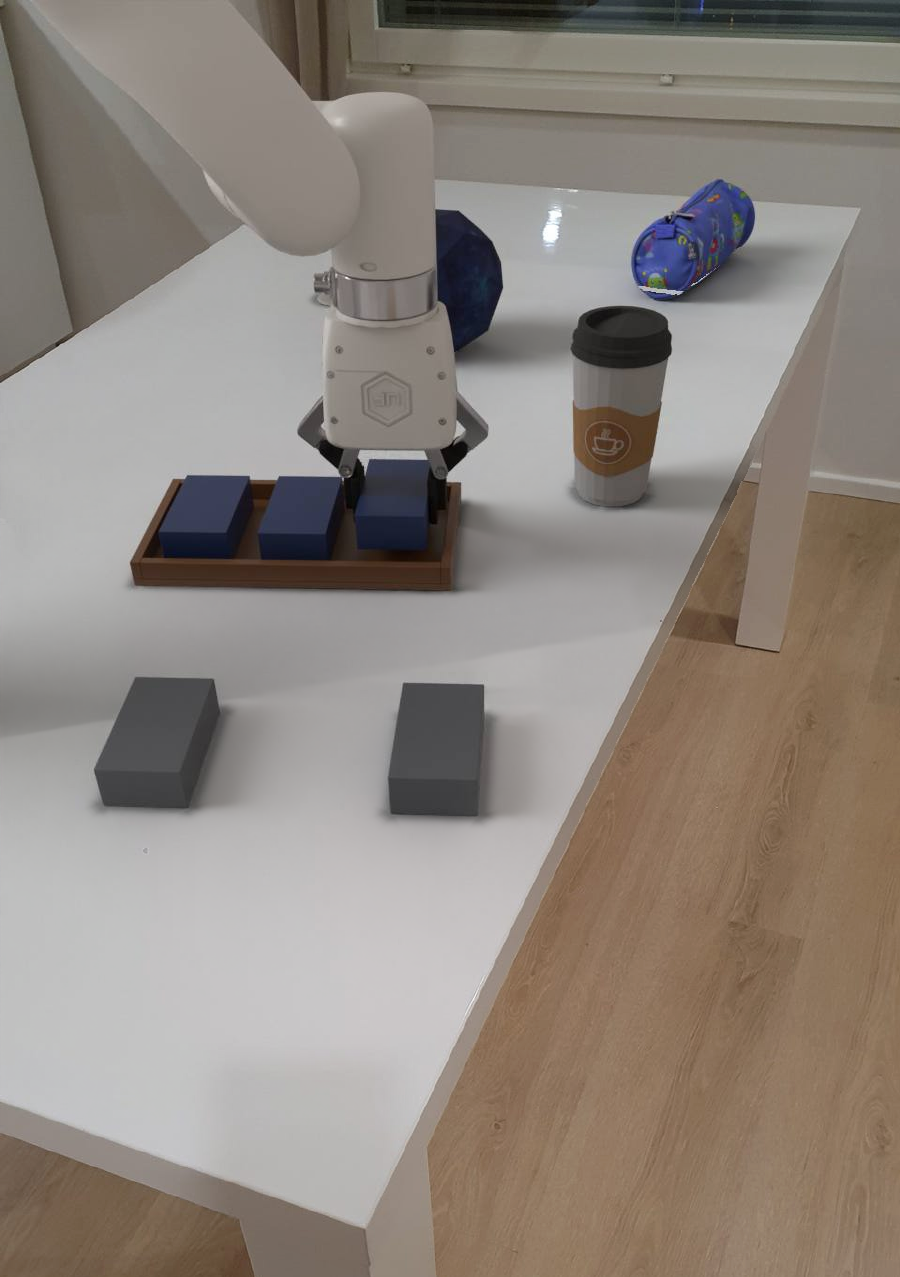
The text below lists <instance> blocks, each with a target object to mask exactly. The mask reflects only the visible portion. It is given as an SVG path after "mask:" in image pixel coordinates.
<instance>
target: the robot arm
mask: <svg viewBox="0 0 900 1277" xmlns="http://www.w3.org/2000/svg"><path fill="white" fill-rule="evenodd" d="M29 1H30V2H31V4H33V6H34V7H35V8H36V9H37V10H38V12H39V13H40V14H41V15H42V16H43V17H44V18H45V20H46V21H47V22H49V24H50V25H51V26H52V27H53V28H54V29H55V30H56V32H58V33H59V34H60V35H61V37H63V38H64V39H65V40H66V41H67V42H68V43H69V44H70V45H71V46H72V47H73V48H74V50H75V51H77V53H78V54H79V55H81V57H82V58H83V59H85V60H86V62H88V63H89V65H91V66H92V67H93V68H94V69H96V70H97V71H98V72H99V73H101V74H102V75H103V76H104V77H105V78H107V79H108V80H110V81H111V82H112V83H113V84H114V85H116V86H117V87H119V88H120V89H121V90H122V91H123V92H125V94H127V95H128V96H129V97H130V98H132V99H133V101H135V102H136V103H137V104H139V105H140V106H141V107H142V108H143V109H144V110H145V111H146V112H148V114H149V115H150V116H151V117H152V118H153V119H154V120H155V121H156V122H157V123H158V124H159V125H160V126H161V127H162V128H163V129H164V130H165V131H166V132H167V133H168V134H169V135H170V137H172V138H173V139H174V140H175V142H177V144H179V146H180V147H181V148H182V149H183V150H184V151H185V152H186V153H187V154H188V155H189V156H190V158H191V159H193V160H194V162H195V163H196V164H197V165H198V166H199V167H200V168H201V169H202V171H203V176H204V178H205V181H206V183H207V185H208V188H209V189H210V190H211V192H212V194H213V195H214V196H215V198H216V199H217V200H218V201H219V203H220V204H221V206H223V207H224V208H225V209H226V210H227V211H229V212H230V214H232V215H233V217H234V216H235V217H236V218H237V219H238V220H239V221H240V222H242V224H244V225H245V226H247V227H248V228H249V229H251V230H252V231H253V232H254V233H255V234H256V235H257V236H258V237H259V238H260V239H261V240H263V242H265V243H266V244H267V245H269V246H270V247H271V248H273V249H275V250H277V251H279V252H282V253H284V254H287V255H290V256H296V257H301V258H302V257H313V256H314V257H315V256H317V255H321V254H324V253H327V252H329V251H330V252H331V265H332V266H330V268H329V270H328V271H327V270H326V271H324V272H323V273H314V274H313V291H314V293H315V294H320V293H325V295H330V298H331V299H333V305H332V306H329V307H328V310H327V311H325V315H324V322H323V329H322V330H323V331H322V346H321V347H322V348H321V350H322V351H321V357H322V358H321V369H322V370H321V372H322V373H321V374H322V376H321V379H322V395H321V397H320V398H319V399H318V400H317V401H316V402H315V404H314V405H313V406H312V407H311V408H310V409H309V411H308V412H307V413H306V414H305V416H304V417H303V418H302V419H301V421H300V422H299V425H298V427H297V432H296V433H297V435H298V437H299V438H301V439H302V440H304V441H305V442H306V443H307V444H309V446H311V447H312V448H314V449H316V450H317V451H318V452H319V454H320V455H321V456H322V457H323V458H324V459H325V460H326V461H328V462H329V464H330V465H332V466H333V467H334V468H335V469H336V470H337V472H338V475H339V477H342V479H343V481H344V491H345V503H346V509H353V517H354V523H355V513H356V509H357V505H358V501H359V497H360V494H361V491H362V487H363V483H364V479H365V474H366V471H365V465H363V462H362V461H361V459H360V458H358V457H359V455H360V451H401V452H402V451H408V452H415V451H416V452H417V451H418V452H420V451H422V452H423V451H424V452H423V453H424V454H425V457H426V460H428V462H429V464H430V467H429V473H428V479H427V495H428V508H429V523H431V524H433V525H437V522H438V516H439V510H446V509H447V482H448V479H447V477H448V475H449V473H450V472H451V471H452V470H453V469H454V468H455V467H457V465H458V464H460V463H461V462H462V460H464V459H465V458H466V457H467V456H468V454H469V453H470V452H471V451H473V450H474V449H476V448H477V447H478V446H479V445H481V444H482V443H483V442H484V441H485V440H486V439H487V438H488V436H489V424H488V422H486V421H485V419H484V418H483V417H482V416H481V415H480V414H479V413H478V412H477V411H476V409H475V408H473V406H472V405H471V404H470V403H469V402H468V400H466V398H465V397H463V395H461V393H460V392H459V391H458V382H457V371H456V370H457V369H456V368H457V367H456V356H455V354H454V348H453V341H452V334H451V328H450V323H449V318H448V314H447V310H446V306H445V305H444V304H443V303H442V302H440V301H438V294H437V262H436V220H435V209H436V185H435V184H436V183H435V182H436V181H435V178H436V176H435V133H434V121H433V117H432V113H431V110H430V109H429V107H428V106H427V104H426V103H425V102H424V101H423V100H421V99H420V98H418V97H416V96H413V95H410V94H407V93H402V92H392V91H369V92H368V91H367V92H360V93H354V94H348V95H345V96H342V97H340V98H337V99H334V100H312V99H311V98H310V96H309V95H308V94H307V93H306V92H305V90H304V89H303V88H302V86H301V85H300V84H299V83H298V81H297V80H296V79H295V77H294V76H293V75H292V74H291V72H289V70H288V69H287V67H286V66H285V65H284V63H283V62H282V61H281V60H280V59H279V58H278V56H277V55H276V54H275V53H274V52H273V50H272V49H271V48H270V47H269V45H268V44H267V43H266V42H265V41H264V39H263V38H262V37H261V36H260V35H259V34H258V33H257V32H256V30H255V29H254V28H253V27H252V25H250V23H249V21H247V19H245V18H244V17H243V15H242V14H241V13H240V12H239V11H238V10H237V9H236V7H235V6H234V5H233V4H232V2H230V0H29ZM457 422H458V423H459V424H460V425H461V426H462V427H463V428H464V429H465V430H464V431H463V432H462V433H461V434H460V435H458V436H456V433H457V432H456V431H457ZM323 424H324V428H323V427H322V425H323ZM455 436H456V437H455Z"/></svg>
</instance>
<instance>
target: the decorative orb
mask: <svg viewBox="0 0 900 1277" xmlns="http://www.w3.org/2000/svg"><path fill="white" fill-rule="evenodd" d="M435 220H436V262H437V294H438V301H440V302H442V303H443V304H444V305H445V306H446V310H447V314H448V318H449V323H450V328H451V334H452V341H453V348H454V355H455V354H456V353H457V352H459V351H461V350H462V349H463V348H466V346H468V345H469V344H471V343H472V342H474V341H475V340H477V339H478V338H479V337H481V336H483V335H484V334H485V333H487V332H488V331H489V329H490V327H491V324H492V321H493V318H494V316H495V313H496V309H497V308H498V304H499V301H500V298H501V295H502V292H503V290H504V278H503V267H502V260H501V258H500V256H499V254H498V251H497V249H496V247H495V245H494V241H493V240H491V238H490V237H488V235H487V234H486V233H485V232H484V231H483V230H482V229H481V228H480V227H479V226H478V225H476V224H475V223H474V222H473V221H471V220H470V218H468V217H467V216H466V215H465V214H464V213H462V212H461V211H460V210H455V209H437V208H435Z"/></svg>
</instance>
